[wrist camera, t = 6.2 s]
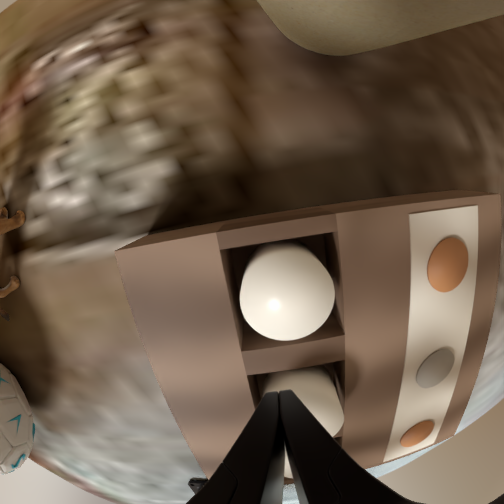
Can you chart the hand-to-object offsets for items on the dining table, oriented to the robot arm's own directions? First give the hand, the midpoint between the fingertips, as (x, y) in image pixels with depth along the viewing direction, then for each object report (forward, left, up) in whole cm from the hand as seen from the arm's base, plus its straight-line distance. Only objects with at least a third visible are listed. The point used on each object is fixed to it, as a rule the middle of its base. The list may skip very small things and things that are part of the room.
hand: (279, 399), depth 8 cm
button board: (-6, -4, -10) cm, 12 cm away
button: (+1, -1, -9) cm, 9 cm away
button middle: (-6, -1, -7) cm, 9 cm away
